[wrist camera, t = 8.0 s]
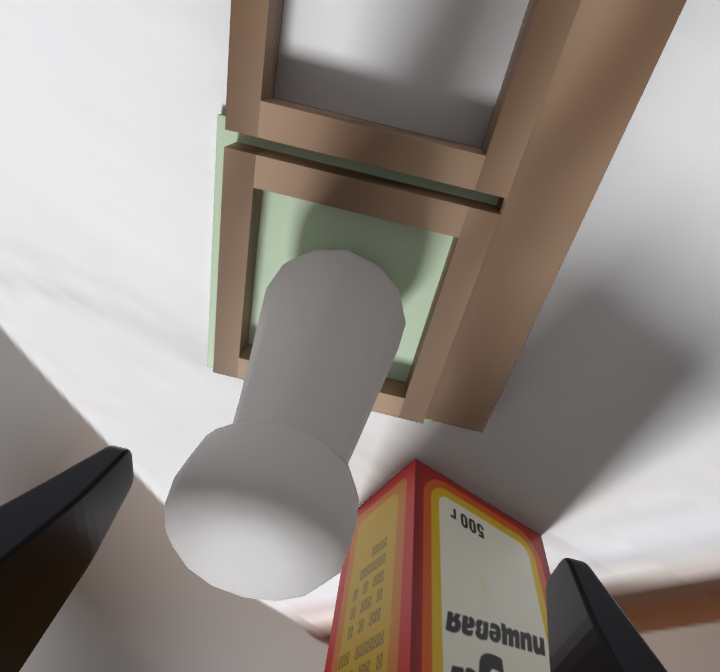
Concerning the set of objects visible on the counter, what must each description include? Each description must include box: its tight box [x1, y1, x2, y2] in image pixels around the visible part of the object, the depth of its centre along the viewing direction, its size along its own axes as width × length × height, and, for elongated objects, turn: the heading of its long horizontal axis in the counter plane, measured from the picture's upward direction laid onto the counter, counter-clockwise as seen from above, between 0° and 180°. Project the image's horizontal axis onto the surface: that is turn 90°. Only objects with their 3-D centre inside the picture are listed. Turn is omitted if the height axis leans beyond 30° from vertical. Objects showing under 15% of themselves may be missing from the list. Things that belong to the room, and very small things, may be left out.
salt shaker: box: [165, 249, 406, 601], centre depth 15 cm, size 6×6×13 cm
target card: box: [207, 114, 499, 422], centre depth 21 cm, size 12×12×1 cm
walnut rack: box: [213, 0, 686, 432], centre depth 17 cm, size 13×21×2 cm, turn 168°
